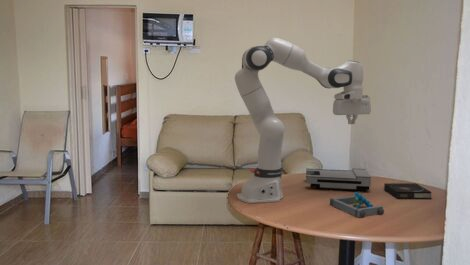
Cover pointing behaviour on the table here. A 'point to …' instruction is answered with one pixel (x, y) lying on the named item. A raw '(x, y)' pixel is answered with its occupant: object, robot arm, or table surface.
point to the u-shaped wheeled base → (362, 212)
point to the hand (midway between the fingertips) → (351, 124)
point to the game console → (339, 179)
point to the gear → (361, 201)
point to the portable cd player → (407, 191)
